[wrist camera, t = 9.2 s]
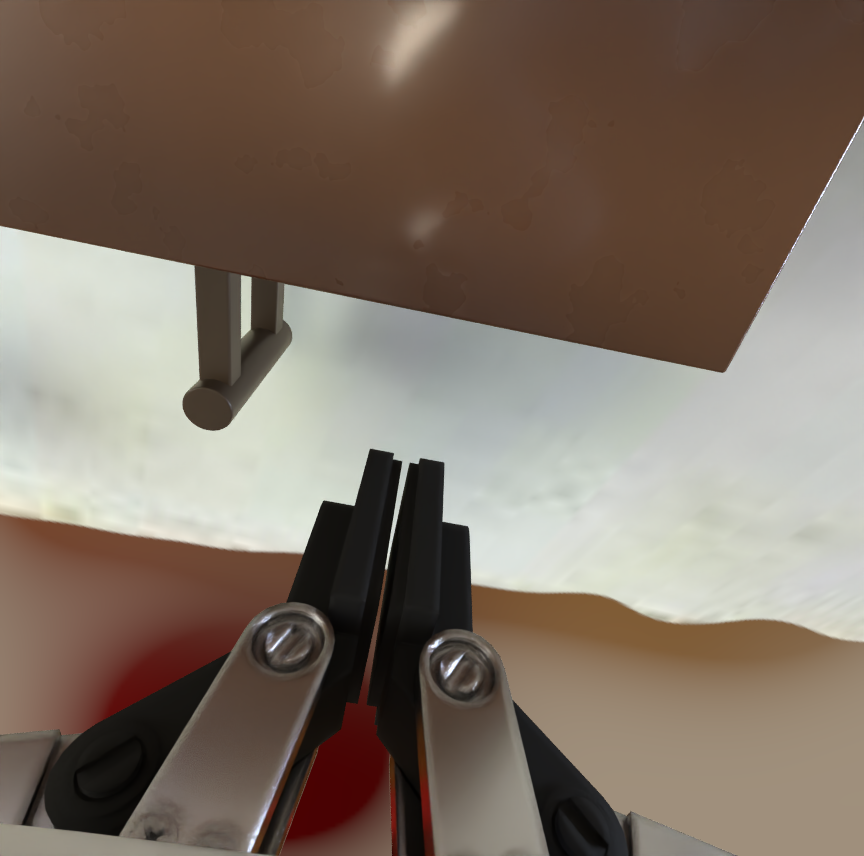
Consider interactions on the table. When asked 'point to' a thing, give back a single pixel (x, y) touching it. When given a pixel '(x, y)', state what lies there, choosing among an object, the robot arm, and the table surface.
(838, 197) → the table surface
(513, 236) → the cabinet
